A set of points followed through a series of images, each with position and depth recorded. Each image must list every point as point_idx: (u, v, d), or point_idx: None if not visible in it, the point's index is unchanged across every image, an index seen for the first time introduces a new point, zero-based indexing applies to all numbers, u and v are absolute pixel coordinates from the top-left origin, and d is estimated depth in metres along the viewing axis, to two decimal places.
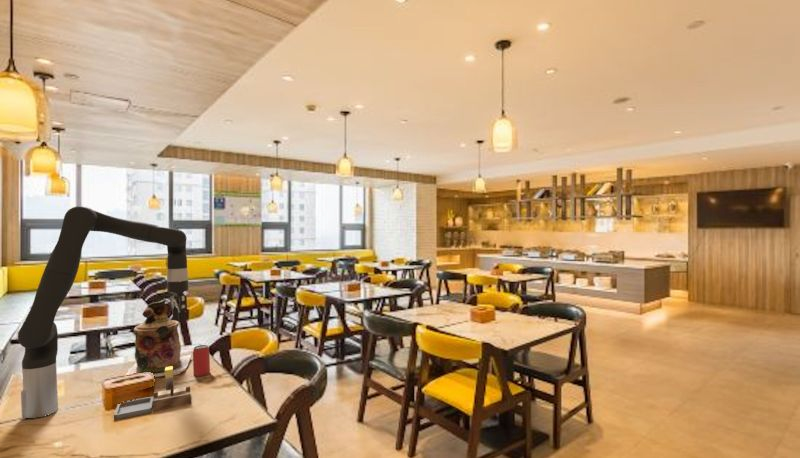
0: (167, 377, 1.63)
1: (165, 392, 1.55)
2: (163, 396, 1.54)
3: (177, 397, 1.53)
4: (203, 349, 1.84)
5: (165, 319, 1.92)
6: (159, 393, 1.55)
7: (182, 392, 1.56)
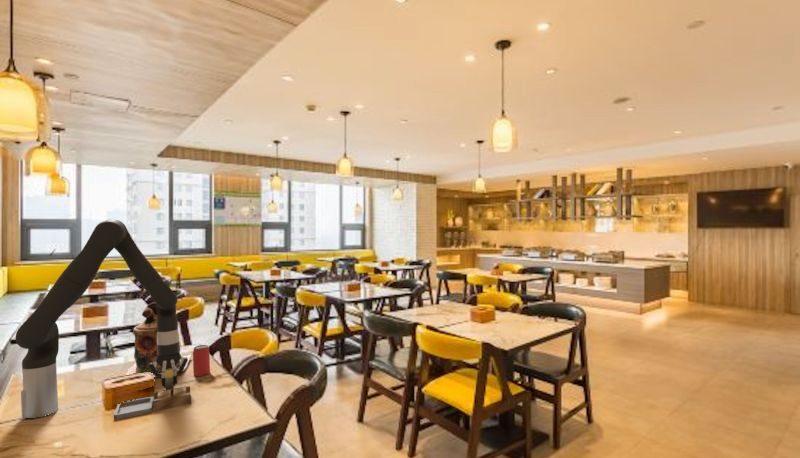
0: (167, 377, 1.63)
1: (165, 392, 1.55)
2: (163, 396, 1.54)
3: (177, 397, 1.53)
4: (203, 349, 1.84)
5: None
6: (159, 393, 1.55)
7: (182, 392, 1.56)
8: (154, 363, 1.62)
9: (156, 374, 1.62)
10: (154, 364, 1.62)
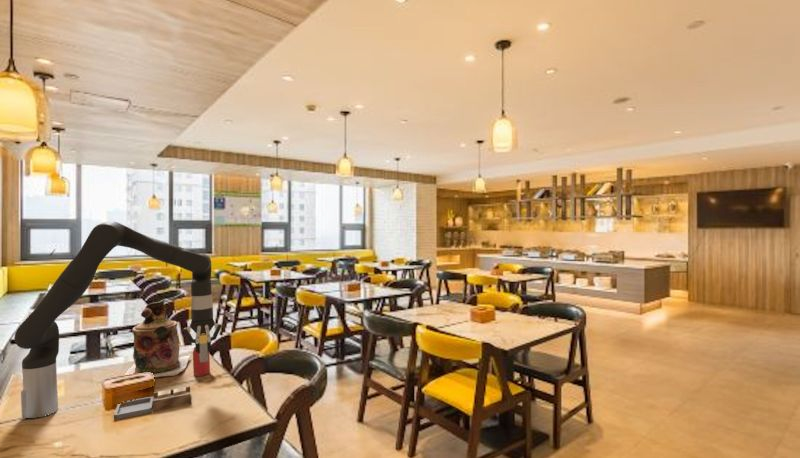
0: (201, 343, 1.59)
1: (165, 392, 1.55)
2: (163, 396, 1.54)
3: (177, 397, 1.53)
4: None
5: (164, 319, 1.92)
6: (159, 393, 1.55)
7: (182, 392, 1.56)
8: (188, 328, 1.59)
9: (190, 339, 1.58)
10: (188, 329, 1.59)
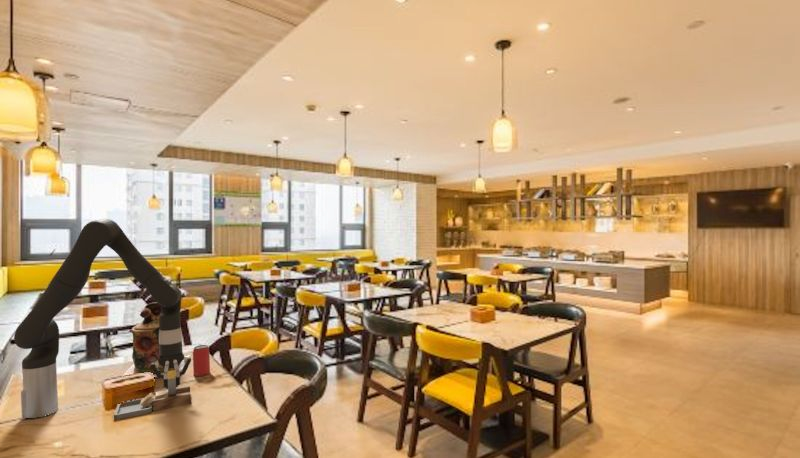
0: (170, 378, 1.54)
1: (146, 397, 1.53)
2: (146, 401, 1.51)
3: (177, 397, 1.53)
4: (203, 349, 1.84)
5: None
6: (141, 401, 1.52)
7: (164, 395, 1.54)
8: (156, 363, 1.54)
9: (158, 375, 1.54)
10: (156, 364, 1.54)
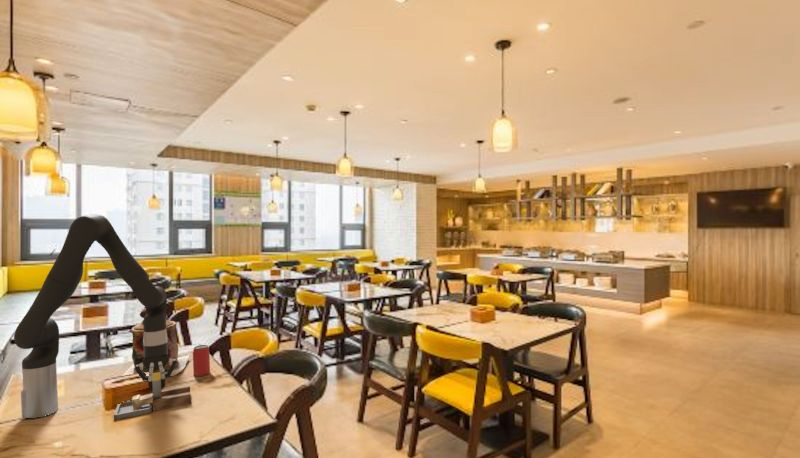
0: (154, 380, 1.52)
1: None
2: (135, 405, 1.49)
3: (177, 397, 1.53)
4: (203, 349, 1.84)
5: None
6: None
7: (149, 399, 1.51)
8: (140, 365, 1.52)
9: (142, 377, 1.51)
10: (140, 366, 1.52)
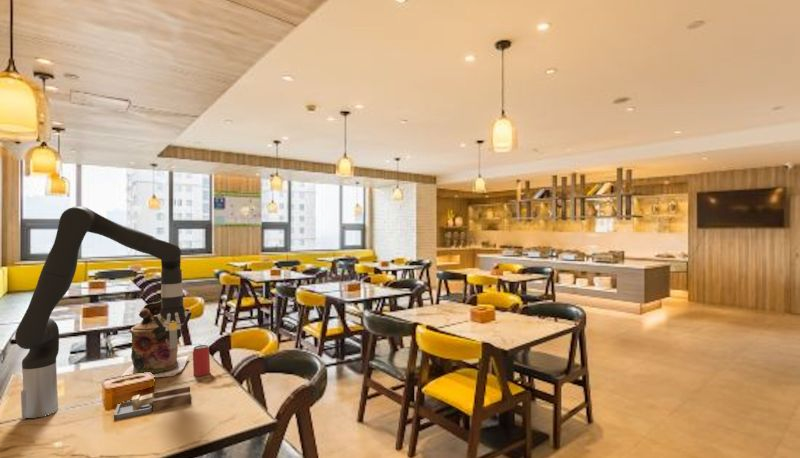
0: (171, 330, 1.63)
1: None
2: (134, 405, 1.49)
3: (177, 397, 1.53)
4: (203, 349, 1.84)
5: (162, 320, 1.91)
6: None
7: (148, 399, 1.51)
8: (158, 316, 1.63)
9: (160, 326, 1.63)
10: (158, 317, 1.63)
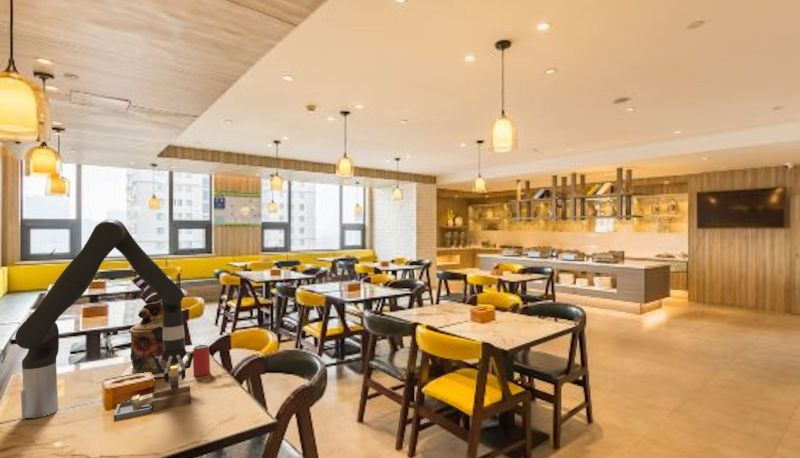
0: (172, 376, 1.64)
1: None
2: (134, 405, 1.49)
3: (177, 397, 1.53)
4: (203, 349, 1.84)
5: (161, 320, 1.91)
6: None
7: (148, 399, 1.51)
8: (159, 357, 1.63)
9: (159, 369, 1.62)
10: (159, 358, 1.63)
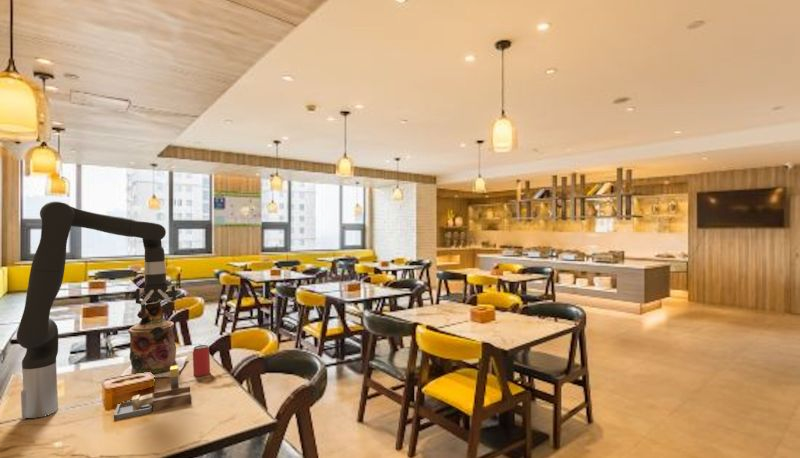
0: (172, 376, 1.64)
1: None
2: (134, 405, 1.49)
3: (177, 397, 1.53)
4: (203, 349, 1.84)
5: (160, 320, 1.91)
6: None
7: (148, 399, 1.51)
8: (141, 290, 1.71)
9: (136, 300, 1.69)
10: (140, 290, 1.71)
